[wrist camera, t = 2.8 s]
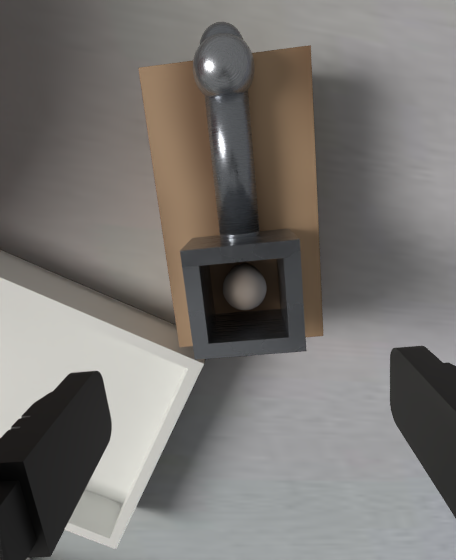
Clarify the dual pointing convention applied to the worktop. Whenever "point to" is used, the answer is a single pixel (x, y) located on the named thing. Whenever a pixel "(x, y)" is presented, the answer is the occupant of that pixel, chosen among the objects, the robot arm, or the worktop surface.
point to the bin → (115, 372)
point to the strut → (237, 216)
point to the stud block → (268, 175)
